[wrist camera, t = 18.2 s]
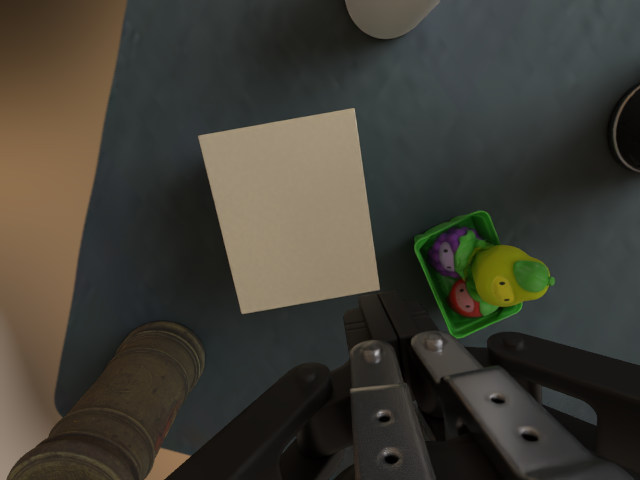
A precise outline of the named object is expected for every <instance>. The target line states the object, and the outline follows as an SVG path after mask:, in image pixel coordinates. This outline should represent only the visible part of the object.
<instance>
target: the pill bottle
mask: <svg viewBox="0 0 640 480" xmlns="http://www.w3.org/2000/svg"><path fill="white" fill-rule="evenodd" d="M440 1H441V0H345V3H346V7H347V10H348V12H349V15H350V17H351V18H352V20H353V21H354V23H355V24H356V25H357V26H358V27H359V28H360V29H361V30H362V31H363V32H365V33H366V34H368V35H370V36H372V37H375V38H380V39H392V38H396V37H399V36H402V35H404V34H406V33H407V32H409V31H411V30H412V29H413V28H415V27H416V26H417V25H418V24H419V23H420V22H421V21H422V20H423V19H424V18H425V17H426V16H427V15H428V14H429V12H430V11H431V10H432V9H433V8H434V7H435V6H436V5H437V4H438V3H439V2H440Z"/></svg>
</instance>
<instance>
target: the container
mask: <svg viewBox="0 0 640 480" xmlns="http://www.w3.org/2000/svg"><path fill="white" fill-rule="evenodd" d="M204 366H205V351H204V348H203V345H202V343H201V341H200V340H199V338H198V337H197V336H196V335H195V334H194V333H193V332H192V331H191V330H189V329H188V328H186V327H184V326H182V325H180V324H178V323H174V322H169V321H155V322H150V323H147V324H145V325H142V326H140V327H138V328H137V329H135V330H134V331H133V332H131V333H130V334H129V335H128V336H127V338H126V339H125V340H124V342H123V343H122V344H121V345H120V347H119V348H118V350H117V352H116V355H115V357H114V358H113V359H112V360H111V361H110V362H109V363H108V365H107V366H106V368H105V370H104V372H103V373H102V374H101V376H100V377H99V378H98V379H97V380H96V382H95V383H94V384H93V385H92V386H91V387H90V388H89V390H88V391H87V392H86V393H85V394H84V395H83V396H82V397H81V399H80V400H79V401H78V402H77V403H76V404H75V405H74V407H73V408H72V409H71V410H70V411H69V412H68V413H67V415H66V416H65V417H64V418H62V419H61V420H60V421H59V422H58V423H57V424H56V425H55V426H54V427H53V429H52V430H51V432H50V434H49V437H48V438H47V439H45V440H44V441H42V442H41V443H40V444H38V445H37V446H36V447H35V448H34V449H32V450H30V451H29V452H27V453H26V454H25V455H24V456H23V457H21V458H20V459H19V461H17V463H16V464H15V465H14V466H13V468H12V469H11V471H10V473H9V475H8V477H7V480H144V479H145V478H146V477H147V476H148V474H149V473H150V471H151V469H152V467H153V463H154V459H155V457H156V455H157V453H158V451H159V449H160V447H161V445H162V443H163V441H164V439H165V437H166V435H167V433H168V431H169V429H170V427H171V425H172V423H173V421H174V419H175V417H176V415H177V413H178V411H179V409H180V407H181V406H182V405H183V403H184V402H185V400H186V398H187V395H188V393H189V392H190V391H191V390H192V389H193V388H194V386H195V385H196V383H197V381H198V379H199V378H200V377H201V375H202V373H203V370H204Z"/></svg>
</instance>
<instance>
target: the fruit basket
mask: <svg viewBox="0 0 640 480" xmlns="http://www.w3.org/2000/svg"><path fill="white" fill-rule="evenodd" d="M414 242H415V245H414V251H415V253H416V255H417V258H418V260H419V262H420V264H421V267H422V269H423V271H424V273H425V276H426V278H427V281H428V283H429V285H430V288H431V290H432V293H433V295H434V297H435V299H436V302H437V304H438V306H439V309H440V311H441V313H442V316H443V318H444V320H445V323H446V325H447V327H448V330H449V332H450V334H451V335H453V336H454V337H455V338H463V337H465V336H467V335H469V334H471V333H474V332H476V331H478V330H480V329H482V328H485V327H487V326H489V325H491V324H493V323H496V322H498V321H500V320H503V319H505V318H507V317H510V316H512V315H514V314H516V313H518V312H519V311H520V310H521V308H522V302H523V301H528V300H535V299H538V298H539V297H541V296H543V295H544V294H545V292H546V291H547V289H548V287H549V285H550V286H552V285H554V283H555V279H554V278H553V277H550V273H549V270H548V268H547V266H546V265H545V264H544V263H543V262H541V261H540V260H538V259H535V258H532V257H530V256H529V255H527V254H526V253H525V252H524V251H522V250H520V249H518V248H515V247H513V246H508V245H501V244H500V241H499V239H498V236H497V233H496V231H495V228H494V225H493V223H492V220H491V217H490V215H489V214H488V213H487V212H486V211H476V212H473V213H470V214H468V215H462V216H457V217H454V218H452V219H451V220H450V221H449V222H444V223H441V224H439V225H437V226H435V227H433V228H431V229H429V230H427V231H426V232H425V233H424V234H419V235H416V236H415V237H414Z"/></svg>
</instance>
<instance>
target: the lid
mask: <svg viewBox="0 0 640 480" xmlns="http://www.w3.org/2000/svg"><path fill="white" fill-rule="evenodd" d="M198 138H199V142H200V146H201V151H202V155H203V159H204V163H205V167H206V171H207V175H208V179H209V183H210V187H211V191H212V195H213V199H214V203H215V208H216V212H217V216H218V220H219V224H220V228H221V232H222V236H223V240H224V244H225V248H226V252H227V256H228V261H229V265H230V269H231V273H232V277H233V281H234V285H235V289H236V293H237V297H238V301H239V305H240V309H241V313H242V314H246V313H252V312H257V311H263V310H269V309H274V308H280V307H286V306H291V305H297V304H303V303H308V302H314V301H320V300H325V299H331V298H337V297H342V296H348V295H354V294H359V293H365V292H371V291H376V290H380V287H379V279H378V272H377V265H376V258H375V251H374V244H373V237H372V229H371V222H370V215H369V208H368V201H367V194H366V187H365V179H364V172H363V165H362V158H361V151H360V144H359V136H358V129H357V122H356V115H355V109H354V108H351V109H346V110H340V111H334V112H329V113H323V114H318V115H312V116H306V117H301V118H295V119H289V120H284V121H278V122H272V123H267V124H261V125H256V126H250V127H244V128H239V129H233V130H227V131H222V132H216V133H210V134H205V135H199V136H198Z"/></svg>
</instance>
